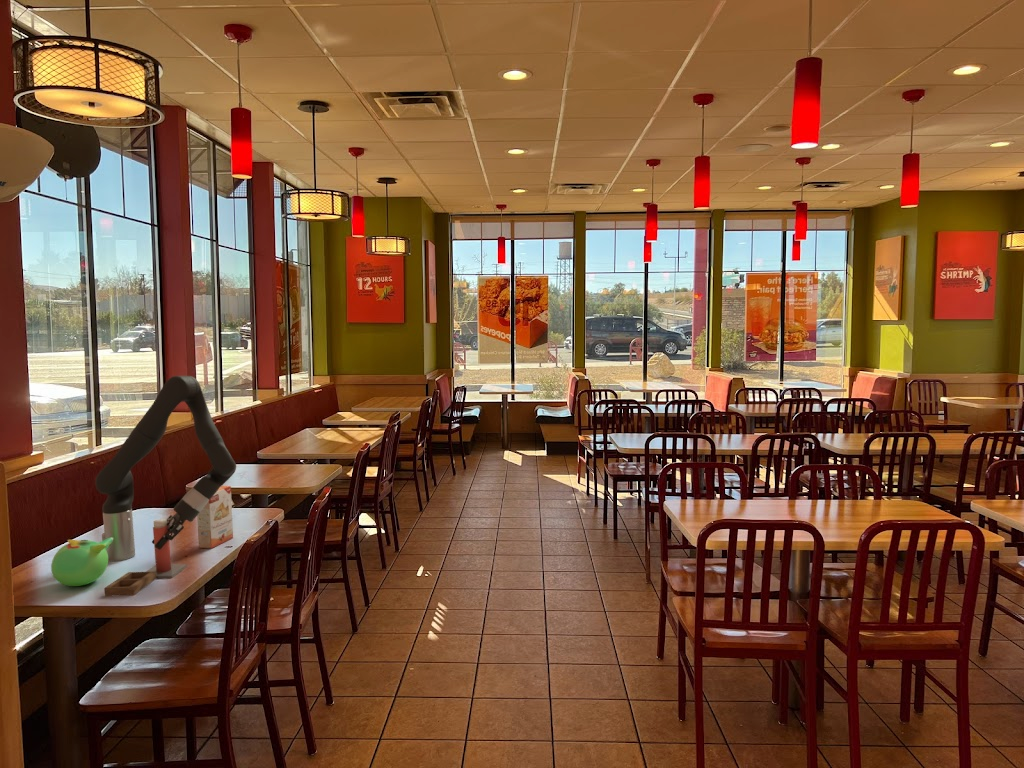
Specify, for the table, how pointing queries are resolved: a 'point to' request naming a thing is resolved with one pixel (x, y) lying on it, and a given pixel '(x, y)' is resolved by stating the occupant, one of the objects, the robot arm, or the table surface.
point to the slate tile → (169, 574)
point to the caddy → (130, 583)
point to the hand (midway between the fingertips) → (155, 545)
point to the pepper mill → (164, 553)
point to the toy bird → (80, 562)
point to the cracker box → (216, 519)
